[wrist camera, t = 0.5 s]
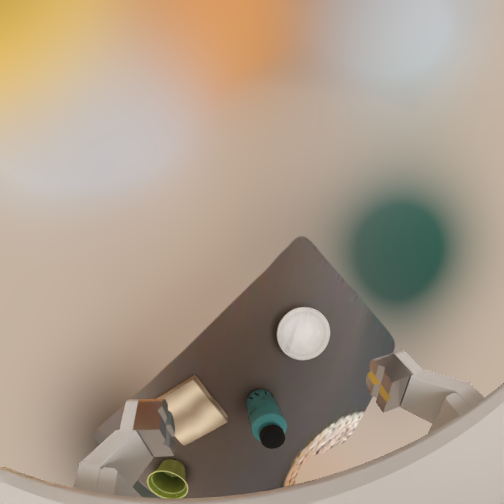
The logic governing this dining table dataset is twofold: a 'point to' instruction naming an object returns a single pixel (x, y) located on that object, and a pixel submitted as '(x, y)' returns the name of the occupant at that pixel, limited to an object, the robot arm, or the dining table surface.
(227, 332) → the dining table surface
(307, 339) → the ramekin
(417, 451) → the robot arm
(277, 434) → the beverage bottle
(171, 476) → the plant pot
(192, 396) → the birch base
